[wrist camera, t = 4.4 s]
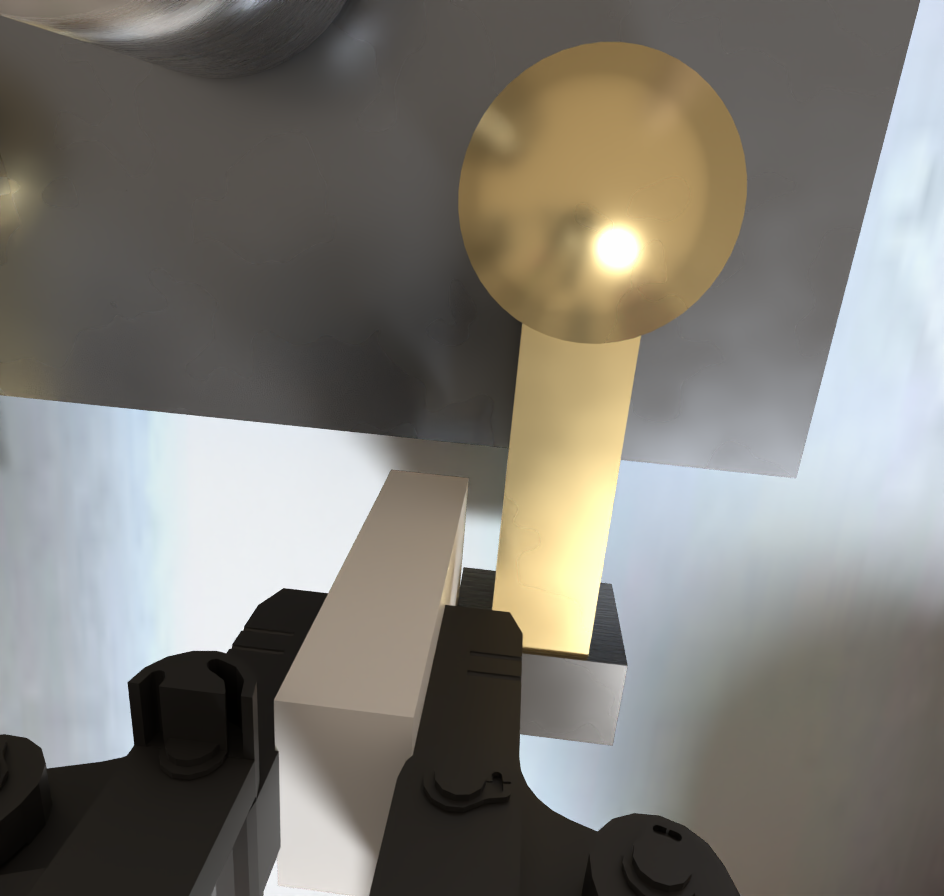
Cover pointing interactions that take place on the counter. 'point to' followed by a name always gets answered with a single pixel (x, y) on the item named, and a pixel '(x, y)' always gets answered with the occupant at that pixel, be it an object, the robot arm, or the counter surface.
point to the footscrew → (586, 328)
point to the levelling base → (401, 210)
